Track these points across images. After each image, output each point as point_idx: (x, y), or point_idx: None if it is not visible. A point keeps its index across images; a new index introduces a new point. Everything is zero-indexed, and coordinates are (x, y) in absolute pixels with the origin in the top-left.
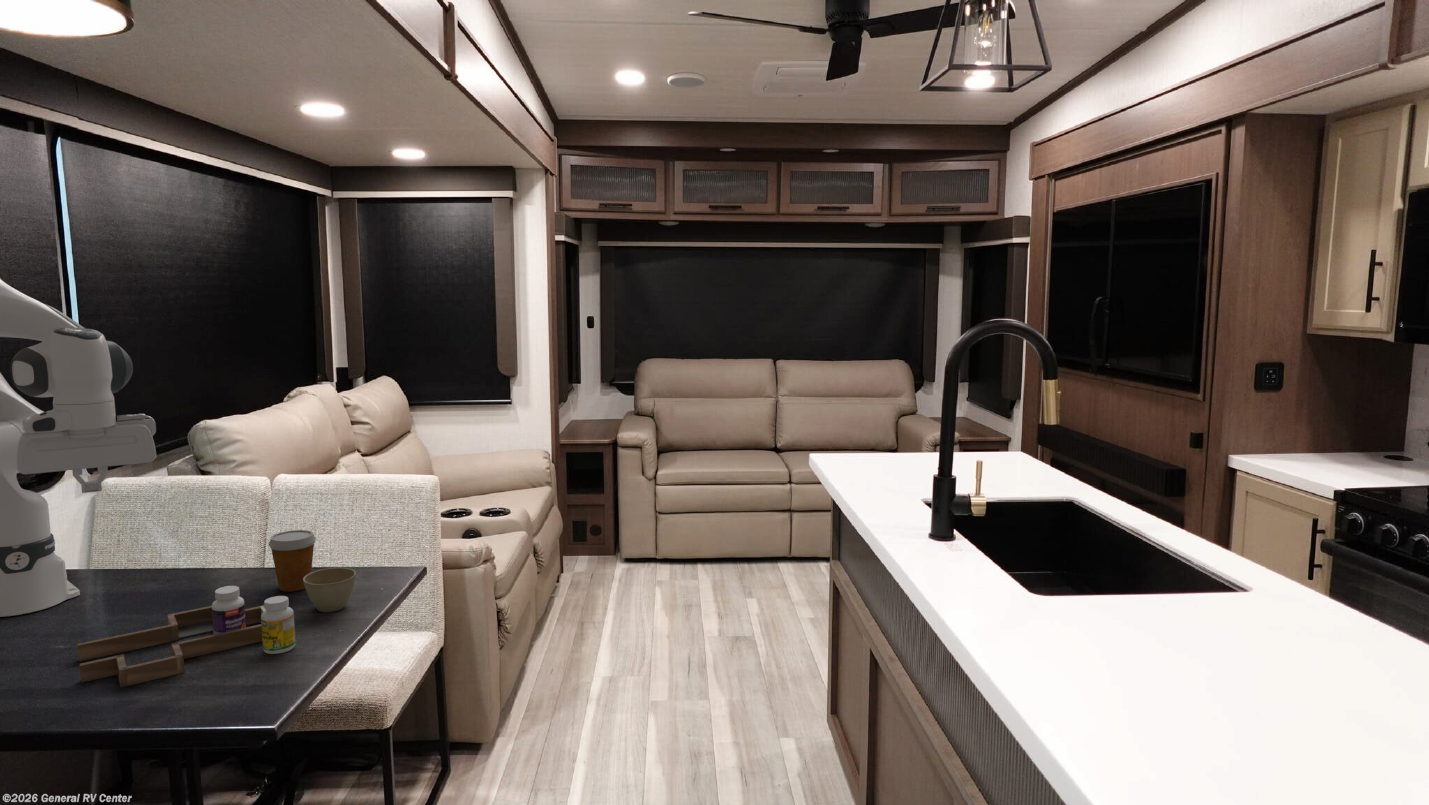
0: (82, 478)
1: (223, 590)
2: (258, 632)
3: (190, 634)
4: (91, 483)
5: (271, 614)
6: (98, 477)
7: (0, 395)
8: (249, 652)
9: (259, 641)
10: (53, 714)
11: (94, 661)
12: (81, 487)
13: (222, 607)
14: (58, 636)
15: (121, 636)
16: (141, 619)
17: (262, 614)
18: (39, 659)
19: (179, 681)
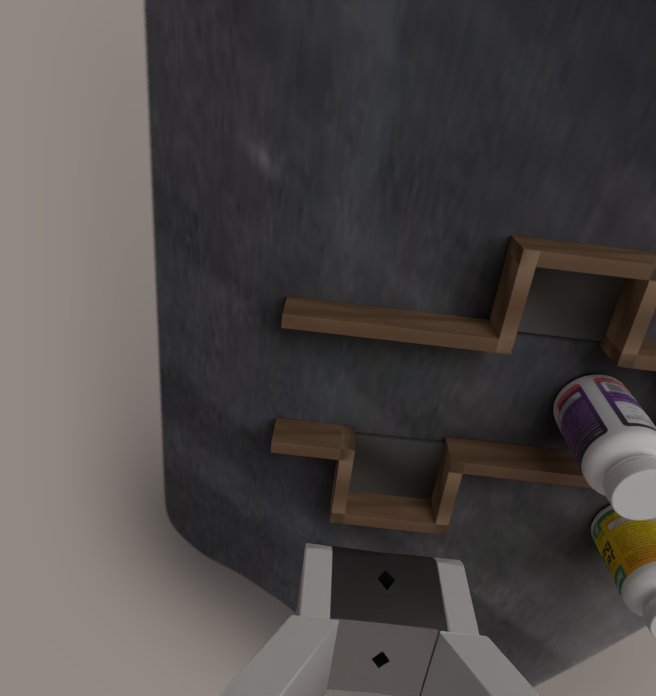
0: (311, 663)
1: (635, 496)
2: None
3: (532, 328)
4: (373, 690)
5: (641, 612)
6: (460, 692)
7: None
8: (572, 501)
9: None
10: (222, 521)
11: (298, 449)
12: (300, 588)
13: (598, 492)
14: (262, 52)
15: (378, 337)
16: (489, 74)
17: (632, 591)
18: (209, 222)
19: (419, 535)
